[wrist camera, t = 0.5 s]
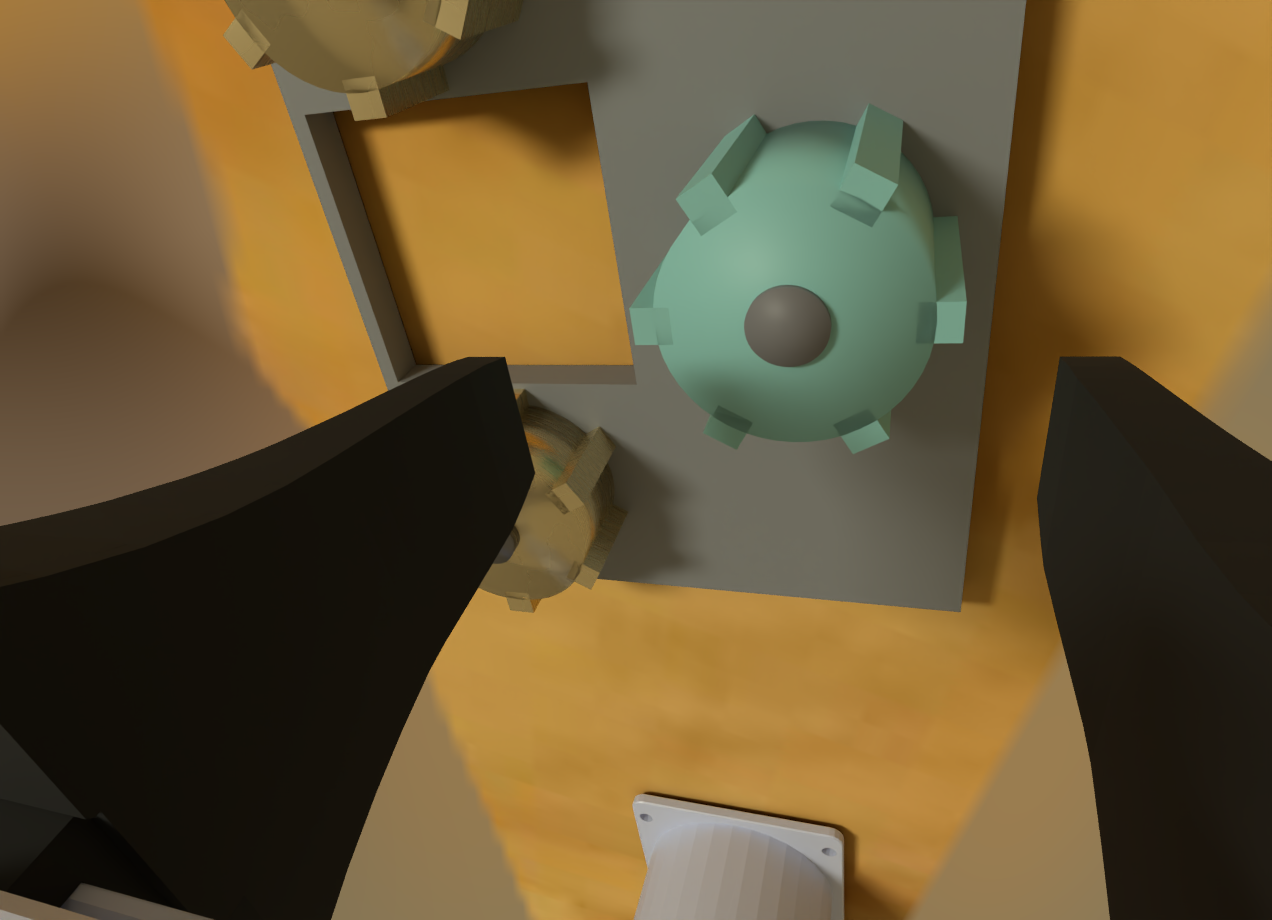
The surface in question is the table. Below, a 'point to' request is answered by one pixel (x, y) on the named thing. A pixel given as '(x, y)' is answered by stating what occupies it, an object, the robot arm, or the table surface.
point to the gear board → (643, 234)
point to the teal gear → (805, 283)
